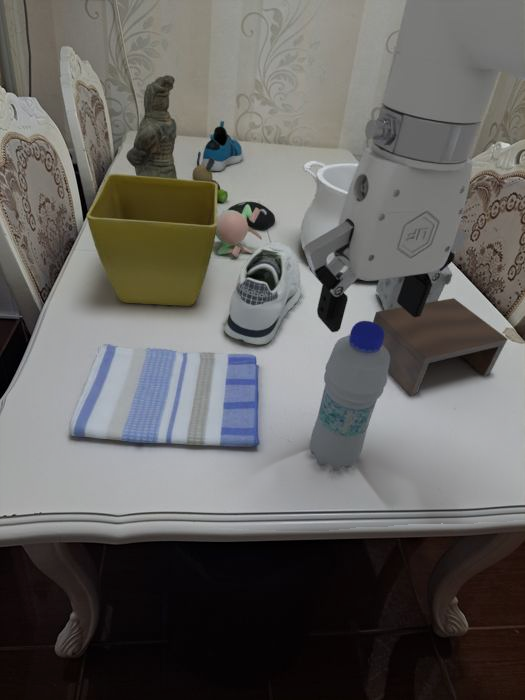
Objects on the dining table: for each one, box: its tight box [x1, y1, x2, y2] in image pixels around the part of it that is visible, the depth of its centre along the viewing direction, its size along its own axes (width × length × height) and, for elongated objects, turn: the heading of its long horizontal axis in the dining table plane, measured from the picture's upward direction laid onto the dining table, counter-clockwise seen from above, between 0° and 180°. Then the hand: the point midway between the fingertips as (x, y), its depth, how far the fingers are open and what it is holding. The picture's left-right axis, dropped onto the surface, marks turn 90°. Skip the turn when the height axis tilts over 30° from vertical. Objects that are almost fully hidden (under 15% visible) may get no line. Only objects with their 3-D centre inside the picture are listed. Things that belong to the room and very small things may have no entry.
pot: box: [299, 160, 361, 281], centre depth 101 cm, size 28×24×17 cm
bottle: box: [309, 320, 390, 472], centre depth 55 cm, size 7×7×20 cm
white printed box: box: [375, 265, 454, 311], centre depth 89 cm, size 10×8×10 cm
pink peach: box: [215, 204, 262, 258], centre depth 102 cm, size 12×10×9 cm
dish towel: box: [68, 343, 260, 447], centre depth 65 cm, size 17×24×3 cm
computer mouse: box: [227, 201, 276, 231], centre depth 116 cm, size 8×12×4 cm, turn 62°
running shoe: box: [224, 241, 302, 345], centre depth 85 cm, size 11×29×12 cm, turn 170°
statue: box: [125, 74, 178, 179], centre depth 102 cm, size 11×9×30 cm
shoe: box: [201, 120, 243, 172], centre depth 148 cm, size 9×23×12 cm, turn 164°
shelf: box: [372, 297, 508, 397], centre depth 77 cm, size 12×16×7 cm
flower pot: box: [86, 173, 218, 307], centre depth 84 cm, size 19×19×17 cm
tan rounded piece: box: [192, 151, 229, 203], centre depth 122 cm, size 9×9×11 cm
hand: (369, 316), depth 49 cm, fingers open, 9 cm apart
